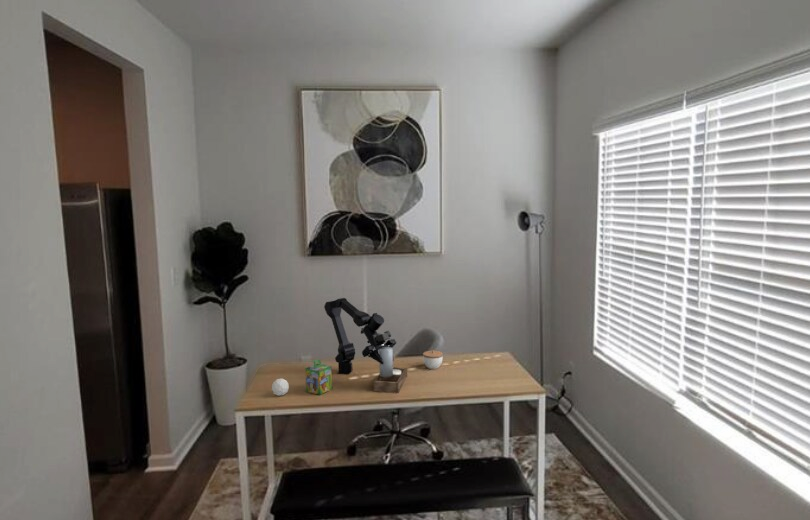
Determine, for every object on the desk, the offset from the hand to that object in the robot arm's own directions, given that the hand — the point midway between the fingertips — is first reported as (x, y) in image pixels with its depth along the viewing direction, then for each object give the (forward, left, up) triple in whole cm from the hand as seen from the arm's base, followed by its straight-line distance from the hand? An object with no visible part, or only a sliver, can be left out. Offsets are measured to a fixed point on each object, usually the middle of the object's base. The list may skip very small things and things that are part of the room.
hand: (388, 362), depth 228 cm
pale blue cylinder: (-1, +1, -7) cm, 7 cm away
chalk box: (-32, -9, -13) cm, 35 cm away
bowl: (0, +11, -11) cm, 16 cm away
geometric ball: (-48, -17, -13) cm, 52 cm away
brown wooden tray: (0, +5, -13) cm, 14 cm away
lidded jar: (+17, +33, -13) cm, 40 cm away
